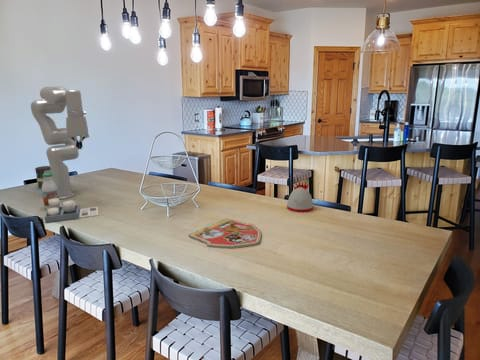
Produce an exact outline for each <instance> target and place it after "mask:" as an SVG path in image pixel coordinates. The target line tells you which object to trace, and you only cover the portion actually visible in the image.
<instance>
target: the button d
mask: <svg viewBox="0 0 480 360" xmlns="http://www.w3.org/2000/svg"><path fill="white" fill-rule="evenodd" d="M74 202H75V200H72V199H70V200H64V201H63V202H62V205H63V206H62V207H64V210H66V212H72V211H74V210H73V209H74V208H75V206H74Z"/></svg>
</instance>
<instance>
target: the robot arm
mask: <svg viewBox="0 0 480 360" xmlns="http://www.w3.org/2000/svg"><path fill="white" fill-rule="evenodd" d="M39 96H40V98H41V99H36V100H33V101H32V102H31V103H30V110H31V114H32V116H33V118H34V119H35V121H36V122H37V124H38V125H39V129H40V131H41V134H42V137H43V139H44V142H45V143H46V145H48V146H49V147H48V148H47V149H46V151H45V152H46V153H45V154H46V157H47V160H48V164H49V166H50V169H51V173H52V179H53V181H54V183H55V184H56V186H57V190H58V196H59V200H65V199H70V198H72V197H75V192H73V191H72V188H71V185H72V184H71V178H70V171H69V167H68V166H67V164H65V163H64V162H65V161H71V160H76V159H78V157H79V155H80V153H79V150H82V149H83V147H84V146H83V141H84V140H85V139H89V138H90V135H89V129H88V121H87V118H86V116H85V115H87V112H86V111H84V110H83V102H82V93H81V91H80V90H79V89H67V88H65V86H44V87H42V88H41V89H40V91H39ZM65 109H66V115H67V116H66V118H65V119H66V120H65V124H66V125H65V126H66V127H63V128H58V127H57V125H56V122H55V121H54V119H53V118H51V117H50V116H49V115H50V114H61V113H62V114H63V112H64V111H65ZM78 137H79V139H78Z"/></svg>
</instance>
